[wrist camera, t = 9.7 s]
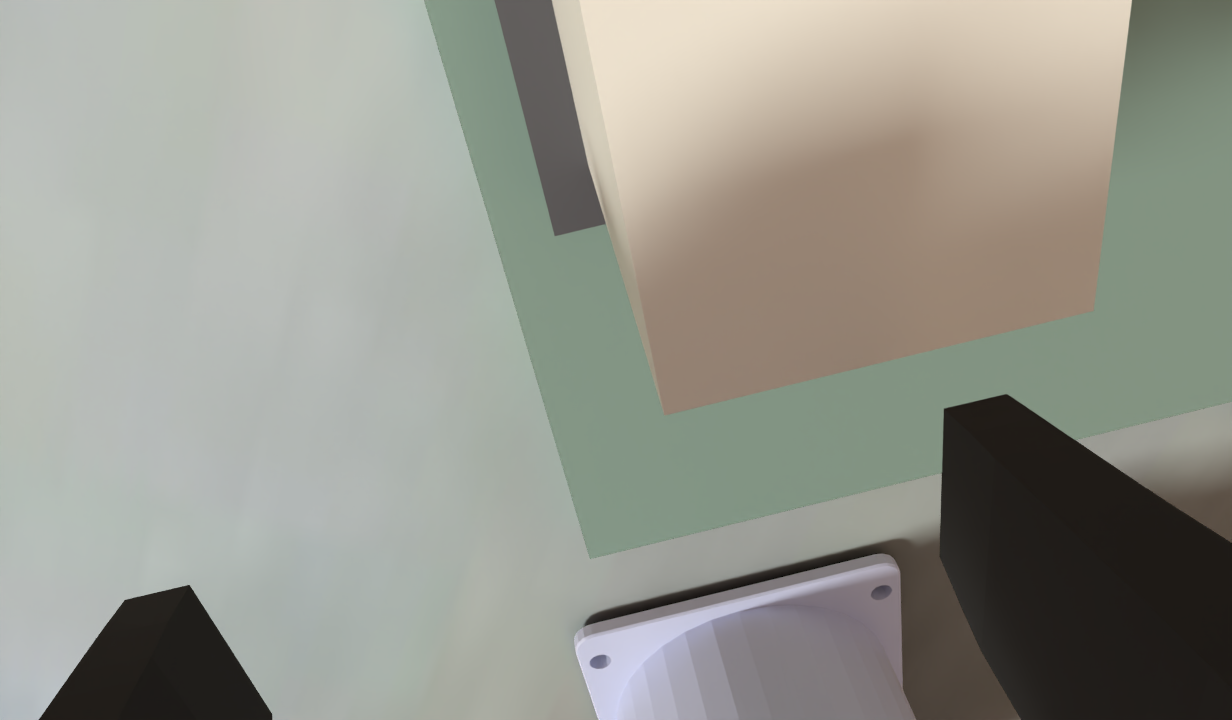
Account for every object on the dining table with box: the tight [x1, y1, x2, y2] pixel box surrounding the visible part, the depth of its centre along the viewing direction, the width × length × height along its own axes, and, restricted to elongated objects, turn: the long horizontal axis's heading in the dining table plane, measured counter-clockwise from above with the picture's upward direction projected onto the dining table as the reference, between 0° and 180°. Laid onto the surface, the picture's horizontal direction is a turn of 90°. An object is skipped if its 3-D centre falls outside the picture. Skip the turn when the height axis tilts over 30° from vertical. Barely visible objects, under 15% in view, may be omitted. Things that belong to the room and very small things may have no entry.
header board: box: [424, 0, 1232, 559], centre depth 15 cm, size 18×20×5 cm
